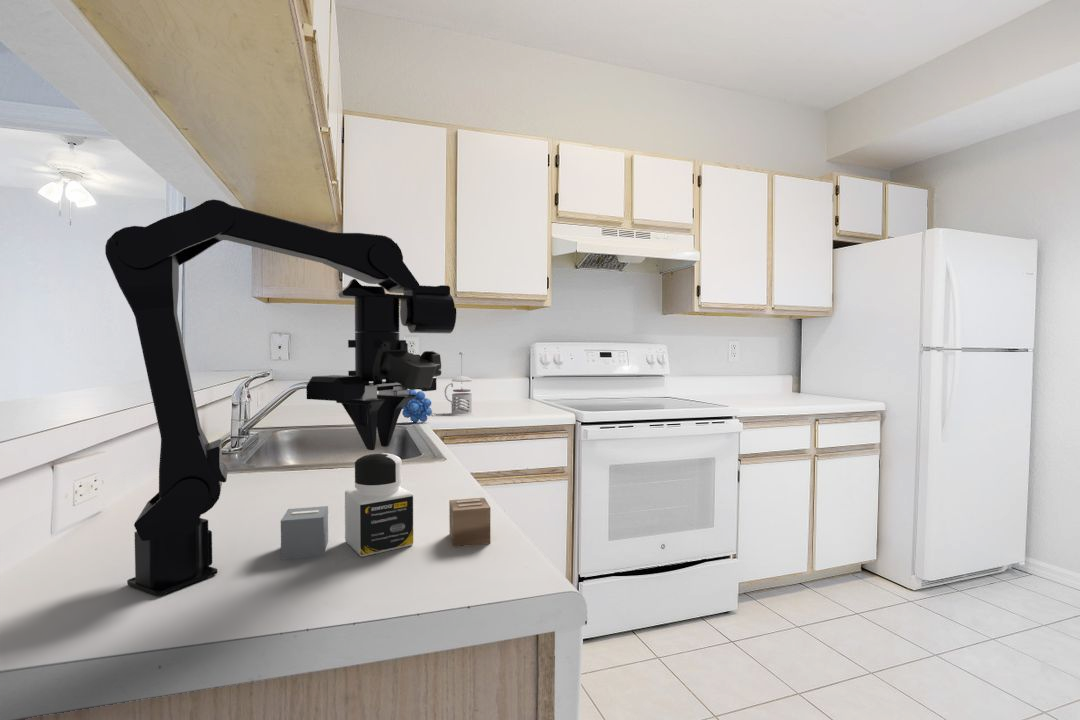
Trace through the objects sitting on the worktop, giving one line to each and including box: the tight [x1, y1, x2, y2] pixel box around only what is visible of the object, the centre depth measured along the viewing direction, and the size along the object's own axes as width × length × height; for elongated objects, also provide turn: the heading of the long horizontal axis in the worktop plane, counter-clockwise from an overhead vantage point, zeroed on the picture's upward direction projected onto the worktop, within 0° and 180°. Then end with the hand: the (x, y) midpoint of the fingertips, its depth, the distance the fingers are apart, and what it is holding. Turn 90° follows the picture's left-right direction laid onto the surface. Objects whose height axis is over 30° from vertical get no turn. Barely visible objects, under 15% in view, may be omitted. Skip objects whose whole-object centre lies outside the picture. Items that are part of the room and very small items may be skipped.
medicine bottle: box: [344, 452, 414, 558], centre depth 71 cm, size 7×7×12 cm
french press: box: [444, 351, 475, 417], centre depth 209 cm, size 10×12×25 cm
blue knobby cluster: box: [401, 389, 433, 423], centre depth 185 cm, size 12×7×12 cm, turn 95°
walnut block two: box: [448, 497, 491, 548], centre depth 73 cm, size 5×5×5 cm
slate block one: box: [280, 505, 329, 560], centre depth 69 cm, size 5×5×5 cm
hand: (378, 448), depth 71 cm, fingers open, 2 cm apart
